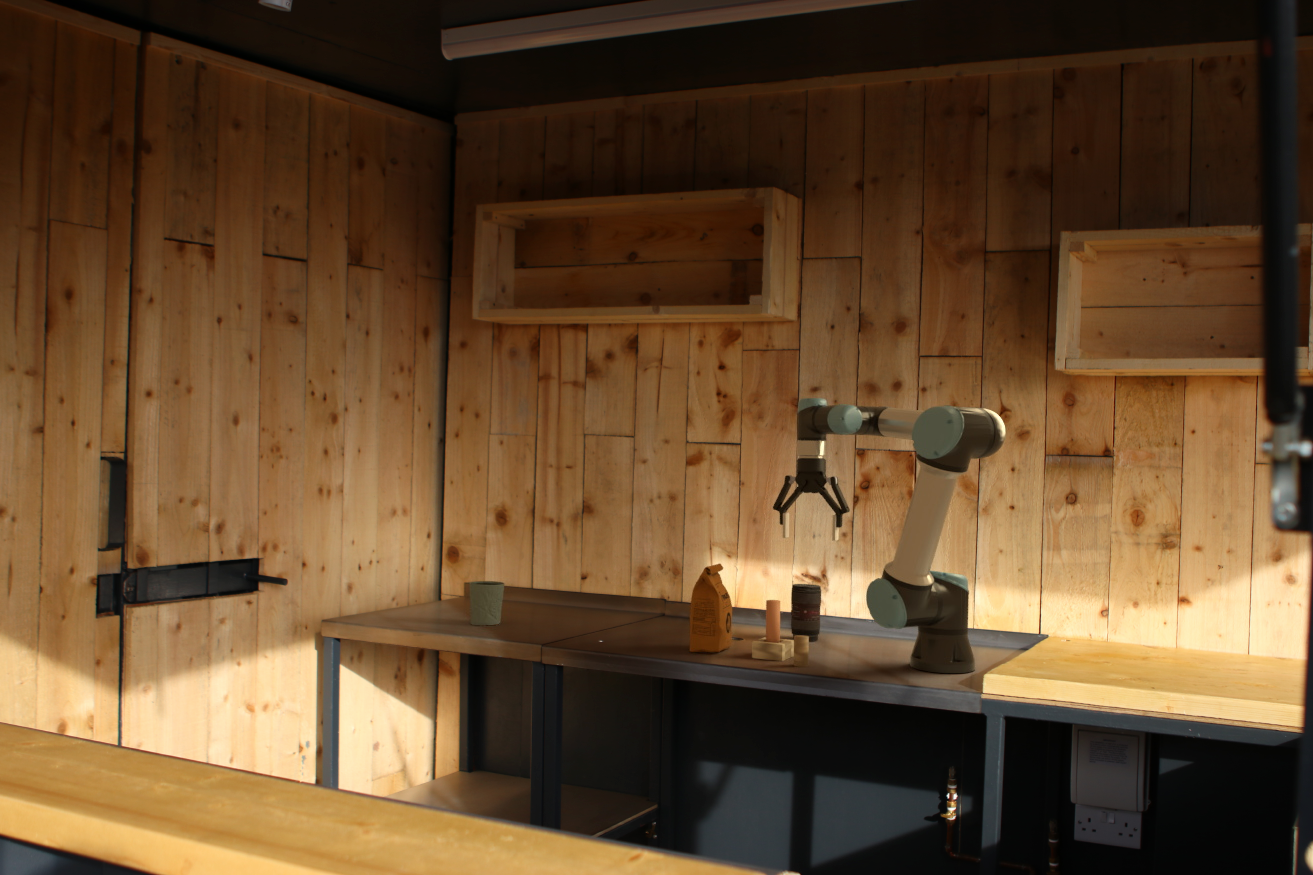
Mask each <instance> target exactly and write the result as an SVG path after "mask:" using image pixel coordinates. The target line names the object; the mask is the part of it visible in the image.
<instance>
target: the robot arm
mask: <svg viewBox="0 0 1313 875" xmlns="http://www.w3.org/2000/svg"><path fill="white" fill-rule="evenodd" d="M796 415H797V422H796V424H797V426H796V427H797V428H796V429H797V433H796V435H797V441H796V442H797V443H796V444H797V445H796V455H797V456H798V457H797V459H796V476H793V475H791V474H789V475H785V477H784V481H783V482H784V483H783V485H782V487H781V490H780V491H779V494H778V496H777V498H776V500H775V502H774V503H773V506H772V510H774V511H777V512H778V513H779V524H780V525H781V526H782V539H788V538H790V512H788V510H789V509H790V507H791V506H793V504H794V503H795V502H796V500H797V499H799V497H800V495H802V494H810V493H811V494H819V495H820V496H822V498H823V499H824V501H825V502H826V503H827V504H828V506H829V508H831V509H832V511H833V512H834V513H835V514H833V515H832V529H831V530H832V532H831V533H832V541H833V542H834V541H839V537H840V536H839V535H840V532H839V531H840V530H839V528H842V526H843V516H844V514H846V513H850V506H849V504H848V502H847V500H846V498H845V497H844V494H843V492H842V490H841V487H840V485H839V478H838V476H830V477H827V475H826V474H827V460H826V458H824V457H826V456H827V435H840V436H847V435H848V436H874V437H883V438H893V439H901V440H906V441H907V440H909V441H913V443H912V446H913V449H914V450H915V452H916V455H915V460H916V461H917V463H918V464H919V465H920V466H919V470H918V473H917V477H916V481H915V484H914V487H913V490H912V494H911V498H910V502H909V506H908V509H907V512H906V515H905V518H904V522H903V526H902V528H901V529H902V530H901V533H900V536H899V538H898V539H899V540H898V542H897V547H896V550H895V553H894V556H893V560H891V561H890V562H887V563H886V564H885V565H884V568H883V571H882V574H881V577H878V578H875V579H874V580H873V581H871V582H870V583H869V584H868V586H867V590H866V592H865V593H866V594H865V595H866V596H865V597H866V598H865V600H866V606H867V609H868V611H869V614H870V616H871V618H872V619H873V620H874V623H876V624H877V625H879V626H880V627H882V628H884V629H896V630H901V629H904V628H916V627H917V636H916V640H915V641H914V644H913V646H912V647H913V648H912V651H911V653H910V659H909V662H910V663H909V665H910V667H911V668H914V669H916V670H919V671H924V672H930V673H938V674H939V673H940V674H942V673H943V674H962V673H963V674H964V673H971V672H973V671H975V669H976V659H975V656H974V653H973V648H972V646H971V643H970V640H969V630H968V628H969V599H970V598H969V596H970V590H969V581H968V580H969V579H968V578H967V576H966V575H964V574H960V573H959V574H958V573H952V572H947V571H946V572H945V571H938V570H931V569H932V566H933V562H934V558H935V556H936V555H935V554H936V552H937V549H938V545H939V542H940V540H941V535H942V533H943V528H944V526H945V522H946V518H947V515H948V512H949V509H950V505H951V503H952V499H953V495H954V492H955V488H956V487H957V486H956V485H957V482H958V478H959V477H960V476H963V475H964V474H966V473H968V469H969V466H970V463H971V459H972V460H973V459H974V460H975V459H976V460H978V459H986V458H989V457H991V456H993V455H994V454H996V453H997V452H998V451H999V450H1000V449H1001V448H1002V447H1003V445H1004V444H1005V443H1004V442H1005V440H1006V435H1007V434H1006V426H1005V423H1004V421H1003V419H1002V417H1000V416H999V414H997V413H996V412H995V411H993V410H991V409H988V408H984V407H976V406H974V407H972V406H956V405H955V406H953V405H948V404H947V405H946V404H945V405H936V406H931V407H929V408H927V409H926V410H917V409H906V408H895V407H888V406H882V405H881V406H865V405H853V404H848V403H847V404H845V403H840V404H831V405H828V401H827V399H825V398H819V397H803V398H800V399H799V400H798V404H797V413H796ZM794 483H796V484H797V486H796V488H795V489H794V490H793V492H792V493H791V495H790V496H788V498H787V499H786V497H787V495H788V493H789V491H790V489H791V487H792V485H794ZM827 483H828V485H829V486H831V489H832V491H833V494H834V496H835V498H836V500H837V502H836V501H835V500H834V498H833V497H832V496H831V494H830V493H829V491H828V490H827V488H826V487H825V486H826V484H827ZM785 499H786V501H785ZM784 501H785V502H784Z"/></svg>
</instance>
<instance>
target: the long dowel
mask: <svg viewBox="0 0 1313 875" xmlns="http://www.w3.org/2000/svg"><path fill="white" fill-rule="evenodd" d="M765 637H766V642H773V643H780V639H781V600H779V599H767V600H766V602H765Z"/></svg>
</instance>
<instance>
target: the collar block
mask: <svg viewBox="0 0 1313 875" xmlns="http://www.w3.org/2000/svg"><path fill="white" fill-rule="evenodd" d="M751 649H752V650H751V652H752V653H751V658H752V659H760V660H768V661H777V662H784V661H785V660H788V659H790V658H794V640H793V639H786V638H785V639H783V638H780V643H773V642H766V636H765V637H762V638H759V639H756V640H753V641H751Z"/></svg>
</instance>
